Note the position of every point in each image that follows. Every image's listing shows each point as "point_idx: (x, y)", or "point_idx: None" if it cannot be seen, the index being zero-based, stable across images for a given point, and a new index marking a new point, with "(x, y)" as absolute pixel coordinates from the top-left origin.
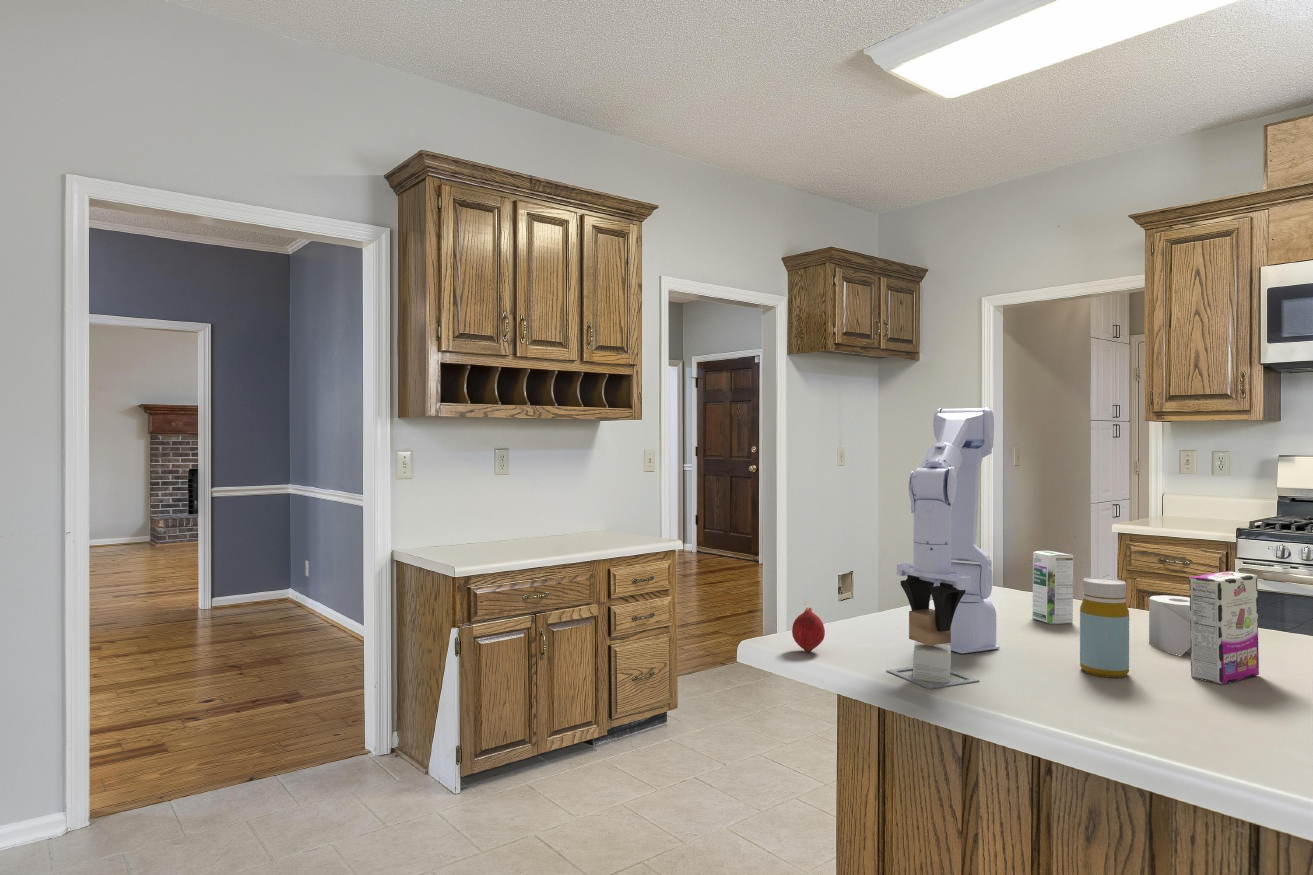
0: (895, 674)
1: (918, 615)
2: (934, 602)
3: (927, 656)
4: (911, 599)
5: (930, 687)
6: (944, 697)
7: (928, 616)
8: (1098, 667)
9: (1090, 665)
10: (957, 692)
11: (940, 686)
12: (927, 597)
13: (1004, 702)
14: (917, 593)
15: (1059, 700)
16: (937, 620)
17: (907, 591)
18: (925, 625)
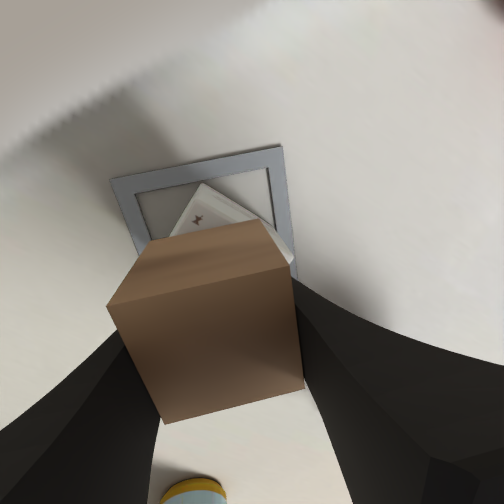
0: (245, 153)
1: (202, 279)
2: (53, 428)
3: (174, 230)
4: (342, 337)
5: (112, 183)
6: (35, 179)
7: (115, 308)
8: (170, 501)
9: (181, 496)
10: (83, 235)
11: (124, 215)
12: (333, 438)
13: (5, 297)
14: (349, 417)
15: (33, 393)
16: (117, 336)
17: (411, 366)
18: (152, 271)
